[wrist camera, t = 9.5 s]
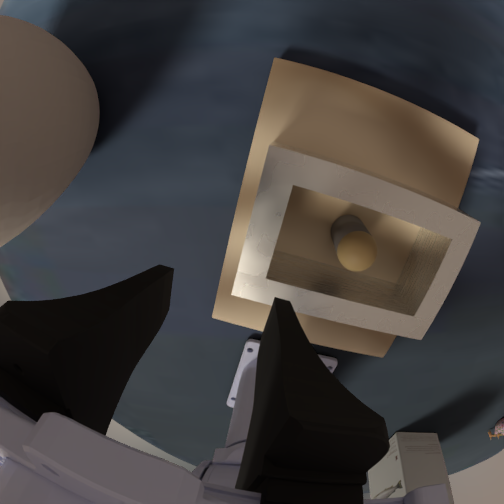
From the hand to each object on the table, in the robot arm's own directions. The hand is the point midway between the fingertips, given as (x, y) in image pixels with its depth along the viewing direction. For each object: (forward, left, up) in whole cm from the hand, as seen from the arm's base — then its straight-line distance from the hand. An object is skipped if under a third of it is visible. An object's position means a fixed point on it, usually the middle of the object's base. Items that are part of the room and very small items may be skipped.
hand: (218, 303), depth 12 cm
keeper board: (+2, -6, -9) cm, 11 cm away
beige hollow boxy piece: (+2, -6, -8) cm, 10 cm away
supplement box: (-23, -26, -10) cm, 36 cm away
